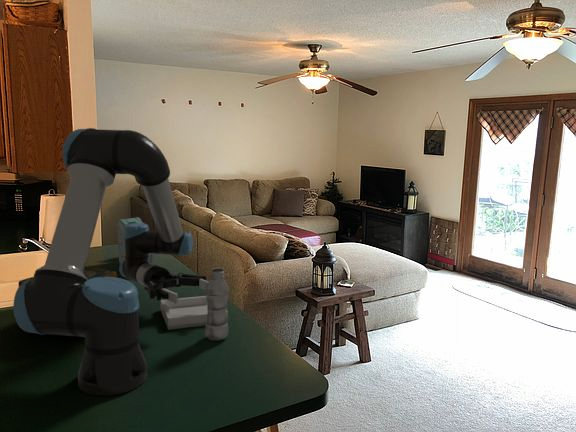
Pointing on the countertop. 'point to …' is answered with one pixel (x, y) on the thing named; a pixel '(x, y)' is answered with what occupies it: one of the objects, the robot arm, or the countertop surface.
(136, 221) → the lunch box
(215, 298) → the plastic bottle
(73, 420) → the countertop surface
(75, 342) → the countertop surface
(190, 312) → the tray
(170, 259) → the countertop surface
